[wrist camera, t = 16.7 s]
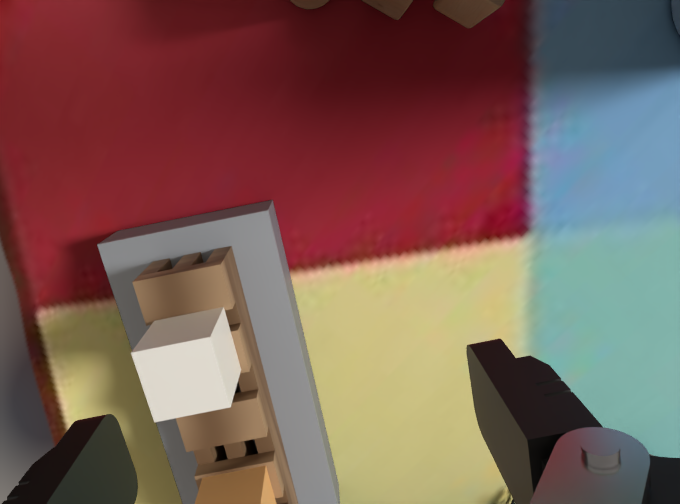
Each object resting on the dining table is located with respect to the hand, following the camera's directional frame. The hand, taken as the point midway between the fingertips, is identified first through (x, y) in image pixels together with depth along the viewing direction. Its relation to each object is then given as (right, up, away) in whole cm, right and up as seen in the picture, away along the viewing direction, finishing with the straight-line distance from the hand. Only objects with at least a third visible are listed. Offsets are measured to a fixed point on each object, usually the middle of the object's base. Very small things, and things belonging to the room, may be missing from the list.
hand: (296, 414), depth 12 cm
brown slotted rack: (-7, -7, +29) cm, 30 cm away
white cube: (-8, -2, +23) cm, 24 cm away
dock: (-8, -6, +33) cm, 34 cm away
